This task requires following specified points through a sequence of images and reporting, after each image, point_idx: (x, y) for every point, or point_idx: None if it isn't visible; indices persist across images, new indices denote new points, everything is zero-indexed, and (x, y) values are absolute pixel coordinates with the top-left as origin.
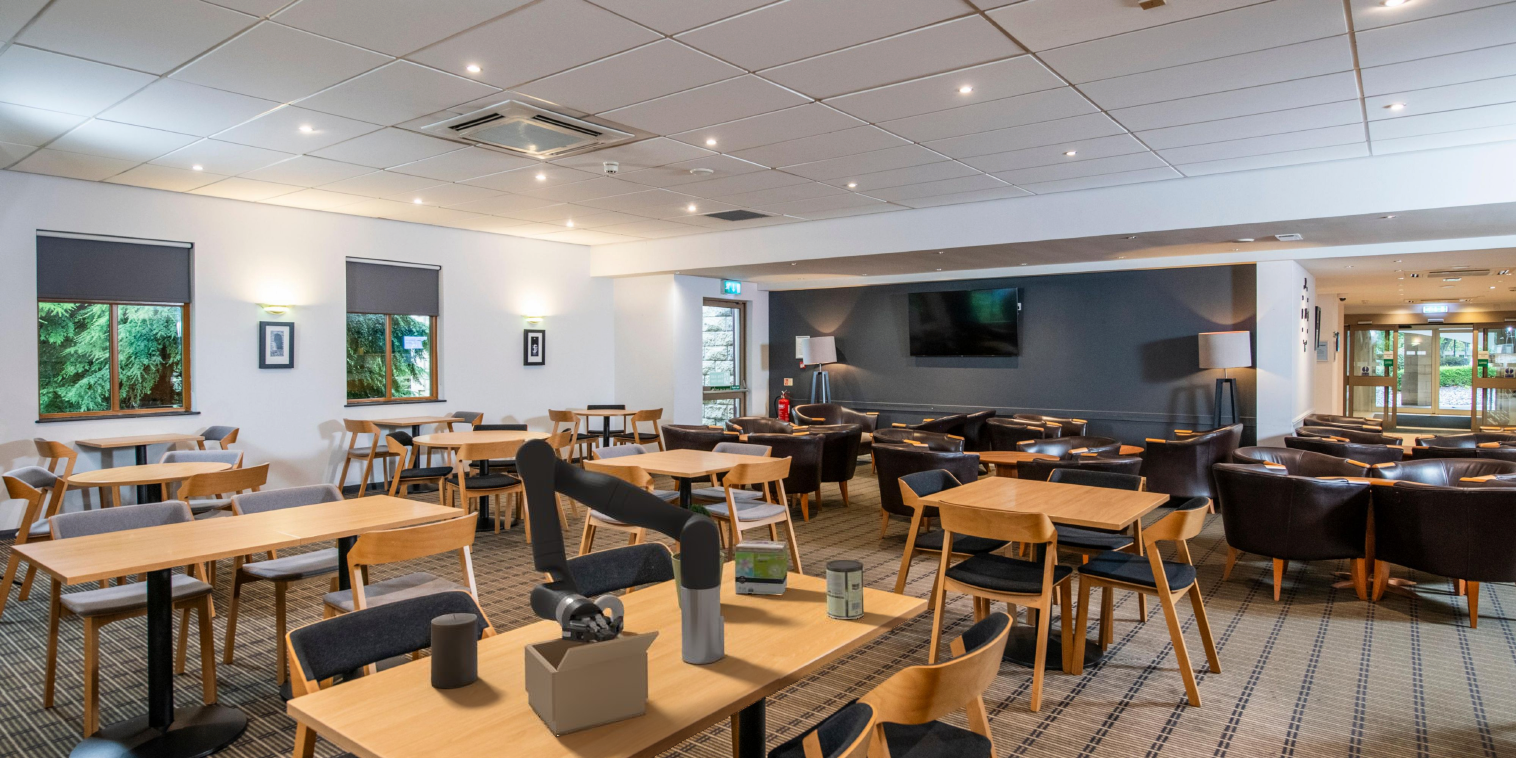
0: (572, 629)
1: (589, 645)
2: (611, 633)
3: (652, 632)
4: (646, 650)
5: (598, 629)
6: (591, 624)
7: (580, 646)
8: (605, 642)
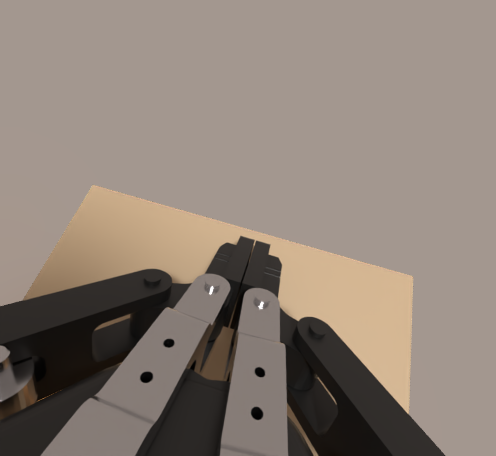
0: (403, 415)
1: (338, 257)
2: (242, 237)
3: (115, 192)
4: None
5: (261, 289)
6: (270, 342)
7: (370, 265)
8: (283, 241)
